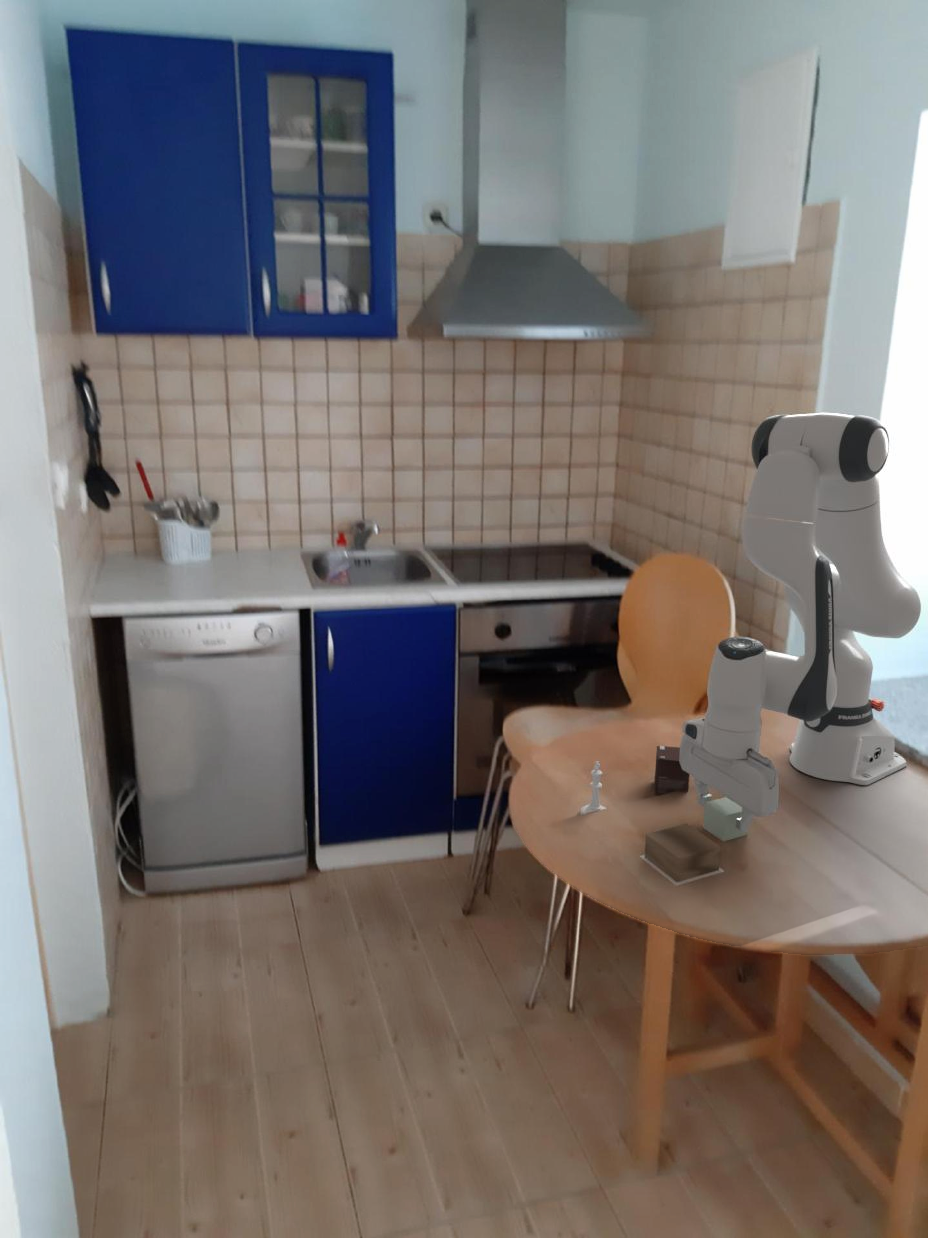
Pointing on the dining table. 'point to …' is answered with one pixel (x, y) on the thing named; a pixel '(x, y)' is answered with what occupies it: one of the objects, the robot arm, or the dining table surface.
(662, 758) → the box
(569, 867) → the dining table surface
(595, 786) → the chess piece
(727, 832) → the sage block
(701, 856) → the base block
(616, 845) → the dining table surface
